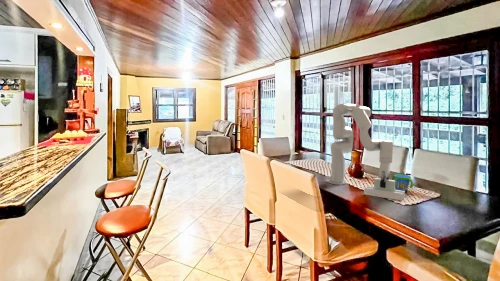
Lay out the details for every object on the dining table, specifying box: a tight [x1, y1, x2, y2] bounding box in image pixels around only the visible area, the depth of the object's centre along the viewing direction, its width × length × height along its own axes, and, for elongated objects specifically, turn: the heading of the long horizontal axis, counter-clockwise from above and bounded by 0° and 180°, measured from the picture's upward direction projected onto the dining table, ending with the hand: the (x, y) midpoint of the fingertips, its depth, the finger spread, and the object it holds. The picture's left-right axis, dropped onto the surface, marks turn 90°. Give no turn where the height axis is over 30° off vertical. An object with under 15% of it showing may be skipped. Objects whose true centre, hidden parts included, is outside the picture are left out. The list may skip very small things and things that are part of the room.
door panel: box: [373, 177, 396, 192], centre depth 194 cm, size 12×3×9 cm, turn 54°
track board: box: [363, 185, 406, 201], centre depth 194 cm, size 23×10×4 cm, turn 55°
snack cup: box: [391, 173, 414, 192], centre depth 207 cm, size 16×10×10 cm
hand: (384, 186), depth 194 cm, fingers open, 9 cm apart
